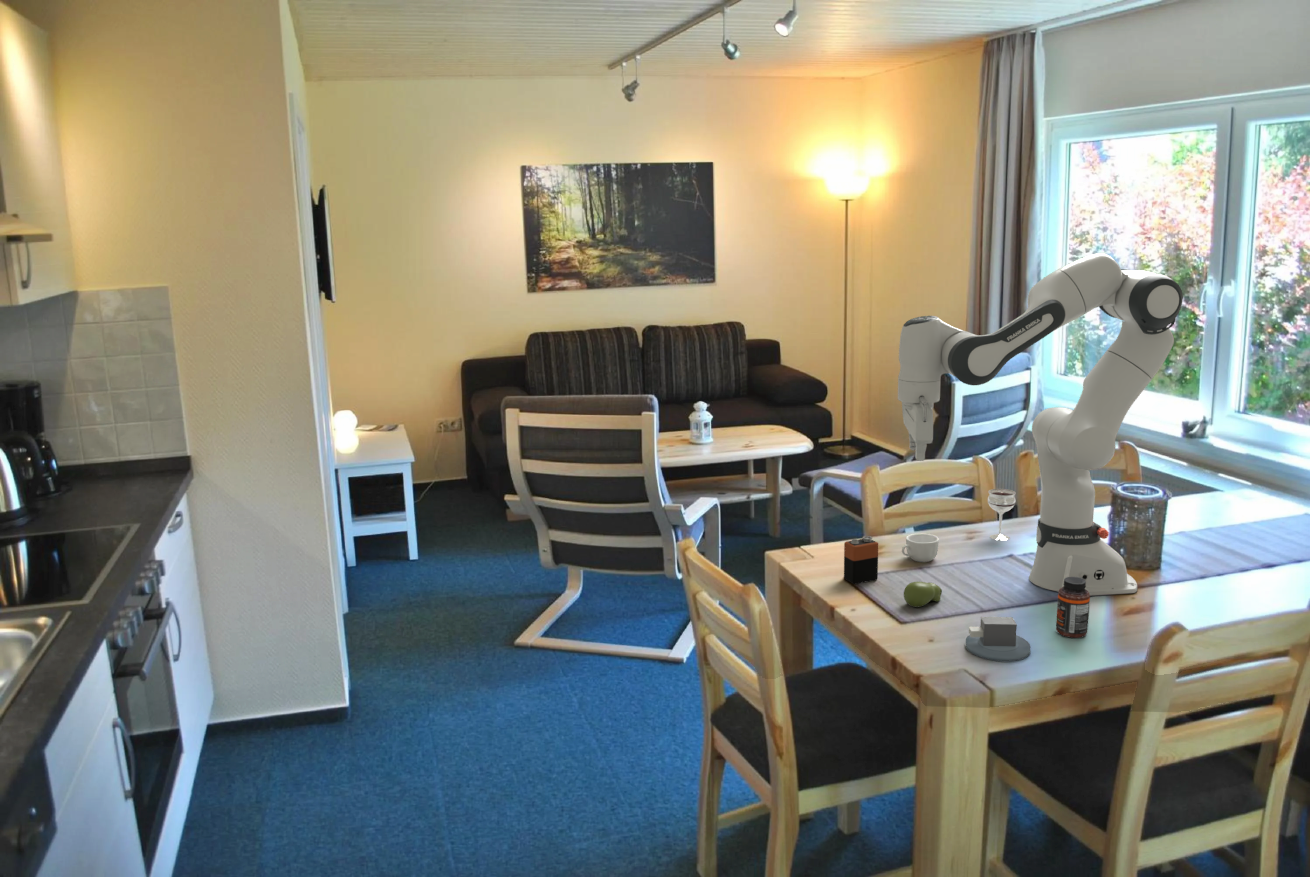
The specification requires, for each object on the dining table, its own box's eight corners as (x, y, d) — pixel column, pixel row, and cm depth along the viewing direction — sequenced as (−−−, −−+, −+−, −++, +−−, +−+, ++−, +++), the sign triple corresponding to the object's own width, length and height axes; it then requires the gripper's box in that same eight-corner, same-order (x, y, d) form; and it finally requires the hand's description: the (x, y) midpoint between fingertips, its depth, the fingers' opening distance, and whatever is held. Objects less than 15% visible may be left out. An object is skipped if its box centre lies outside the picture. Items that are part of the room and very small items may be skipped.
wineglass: (990, 531, 272) (993, 487, 269) (1017, 535, 268) (1019, 491, 265) (982, 538, 267) (984, 493, 264) (1008, 543, 263) (1011, 497, 260)
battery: (878, 580, 240) (879, 538, 237) (853, 584, 237) (854, 543, 235) (867, 574, 244) (868, 533, 241) (842, 578, 241) (843, 537, 239)
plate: (1022, 636, 207) (1022, 630, 207) (1037, 662, 196) (1037, 656, 195) (960, 635, 208) (960, 629, 208) (971, 660, 197) (972, 654, 197)
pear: (900, 580, 224) (928, 576, 230) (896, 604, 225) (925, 599, 231) (921, 586, 220) (949, 583, 226) (917, 611, 220) (946, 606, 226)
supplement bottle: (1050, 628, 211) (1053, 575, 208) (1078, 626, 211) (1082, 573, 209) (1063, 640, 205) (1067, 585, 202) (1093, 638, 205) (1096, 584, 203)
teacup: (923, 552, 258) (924, 531, 257) (945, 561, 251) (945, 539, 250) (891, 559, 254) (892, 537, 252) (912, 568, 247) (913, 546, 246)
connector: (1011, 638, 203) (1012, 617, 202) (1015, 646, 200) (1016, 624, 199) (967, 638, 204) (968, 616, 203) (971, 645, 201) (972, 623, 200)
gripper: (941, 401, 213) (939, 466, 216) (926, 384, 233) (924, 444, 236) (910, 401, 214) (908, 466, 217) (898, 384, 234) (896, 444, 237)
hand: (916, 454), depth 226 cm, fingers open, 8 cm apart
